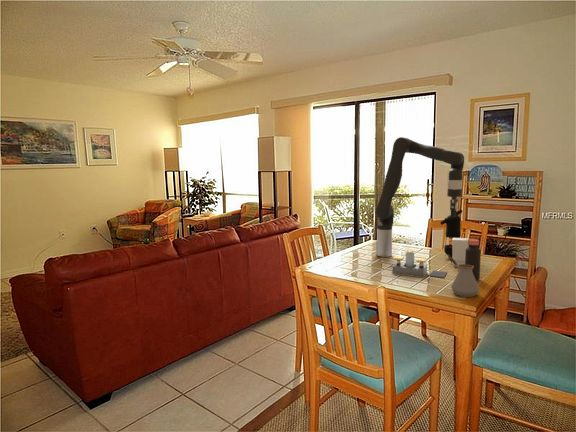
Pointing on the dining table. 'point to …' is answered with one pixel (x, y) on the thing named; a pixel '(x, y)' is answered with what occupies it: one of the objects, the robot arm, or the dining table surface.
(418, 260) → the plunger
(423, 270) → the housing
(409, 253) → the cartridge
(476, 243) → the bottle
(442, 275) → the mat
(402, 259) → the plunger
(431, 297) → the dining table surface
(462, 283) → the coffee pot
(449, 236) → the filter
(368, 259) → the dining table surface
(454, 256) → the skincare box
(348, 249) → the dining table surface
